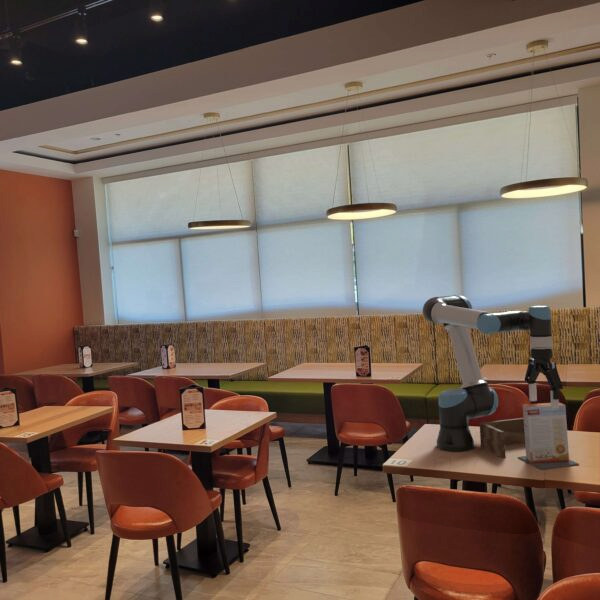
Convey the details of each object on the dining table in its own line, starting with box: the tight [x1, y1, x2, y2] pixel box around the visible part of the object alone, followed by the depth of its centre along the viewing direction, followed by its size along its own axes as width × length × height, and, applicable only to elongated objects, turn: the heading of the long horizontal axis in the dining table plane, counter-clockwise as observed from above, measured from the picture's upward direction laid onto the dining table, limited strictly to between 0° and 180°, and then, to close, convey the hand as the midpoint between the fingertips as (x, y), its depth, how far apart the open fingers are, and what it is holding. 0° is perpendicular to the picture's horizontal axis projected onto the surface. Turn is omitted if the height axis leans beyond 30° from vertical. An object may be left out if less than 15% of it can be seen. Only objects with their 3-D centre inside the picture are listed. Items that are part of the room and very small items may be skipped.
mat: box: [517, 455, 580, 471], centre depth 214 cm, size 15×15×1 cm
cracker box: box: [522, 401, 570, 463], centre depth 214 cm, size 14×6×21 cm, turn 86°
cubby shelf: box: [479, 417, 525, 459], centre depth 232 cm, size 17×28×10 cm, turn 100°
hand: (543, 404), depth 214 cm, fingers open, 13 cm apart
